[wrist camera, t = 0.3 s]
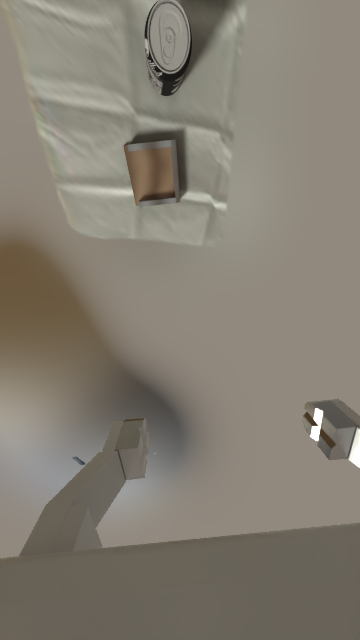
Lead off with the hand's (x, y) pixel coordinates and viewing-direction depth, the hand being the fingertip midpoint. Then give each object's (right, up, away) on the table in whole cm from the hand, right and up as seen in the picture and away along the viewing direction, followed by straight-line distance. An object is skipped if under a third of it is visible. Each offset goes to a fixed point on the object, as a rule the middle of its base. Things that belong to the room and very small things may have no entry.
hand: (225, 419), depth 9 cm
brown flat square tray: (-8, +39, +34) cm, 52 cm away
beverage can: (-5, +51, +24) cm, 56 cm away
